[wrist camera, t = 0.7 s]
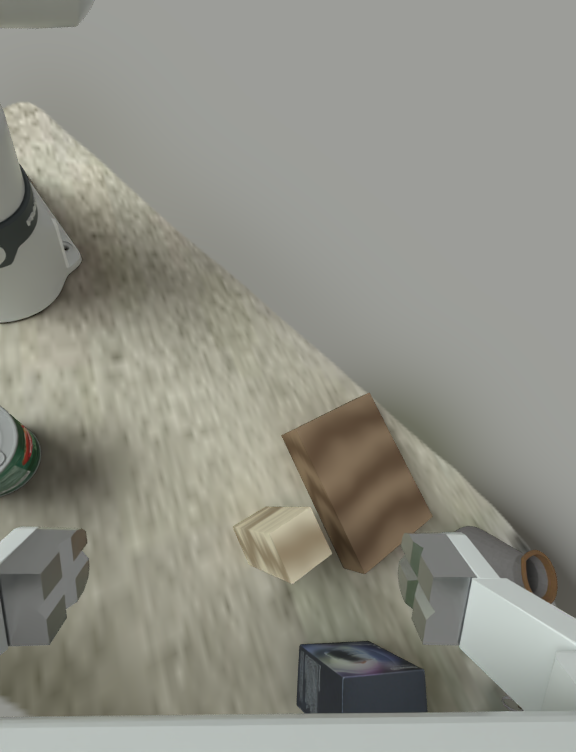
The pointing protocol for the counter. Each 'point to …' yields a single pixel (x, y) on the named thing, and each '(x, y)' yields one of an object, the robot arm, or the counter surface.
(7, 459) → the canned tomato
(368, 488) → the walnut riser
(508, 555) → the coffee pot
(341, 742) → the robot arm
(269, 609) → the counter surface
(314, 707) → the small box
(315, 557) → the birch block
